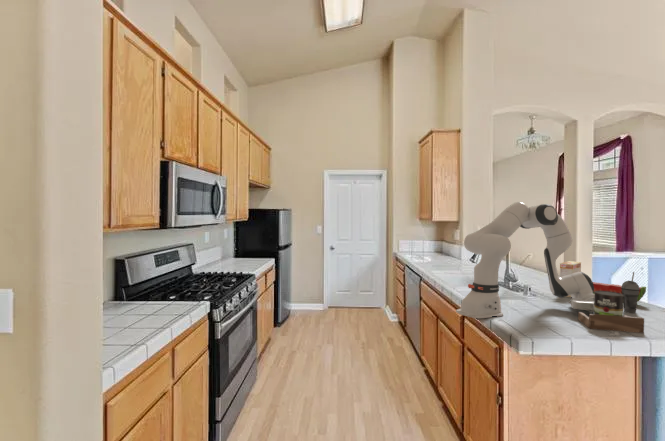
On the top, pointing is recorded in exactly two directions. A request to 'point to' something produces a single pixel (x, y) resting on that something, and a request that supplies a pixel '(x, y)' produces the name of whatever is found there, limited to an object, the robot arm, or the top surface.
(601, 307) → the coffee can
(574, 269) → the coffeecake box
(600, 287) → the fruit slice
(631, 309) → the beverage cup
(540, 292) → the top surface
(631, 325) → the box
